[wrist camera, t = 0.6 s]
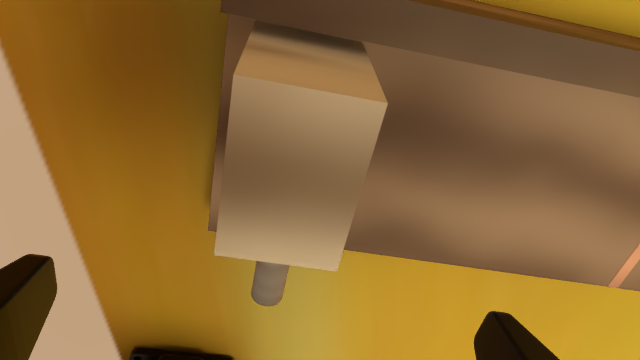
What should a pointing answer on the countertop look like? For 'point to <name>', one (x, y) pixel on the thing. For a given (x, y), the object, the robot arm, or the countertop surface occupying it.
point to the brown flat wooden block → (483, 135)
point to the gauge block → (295, 152)
